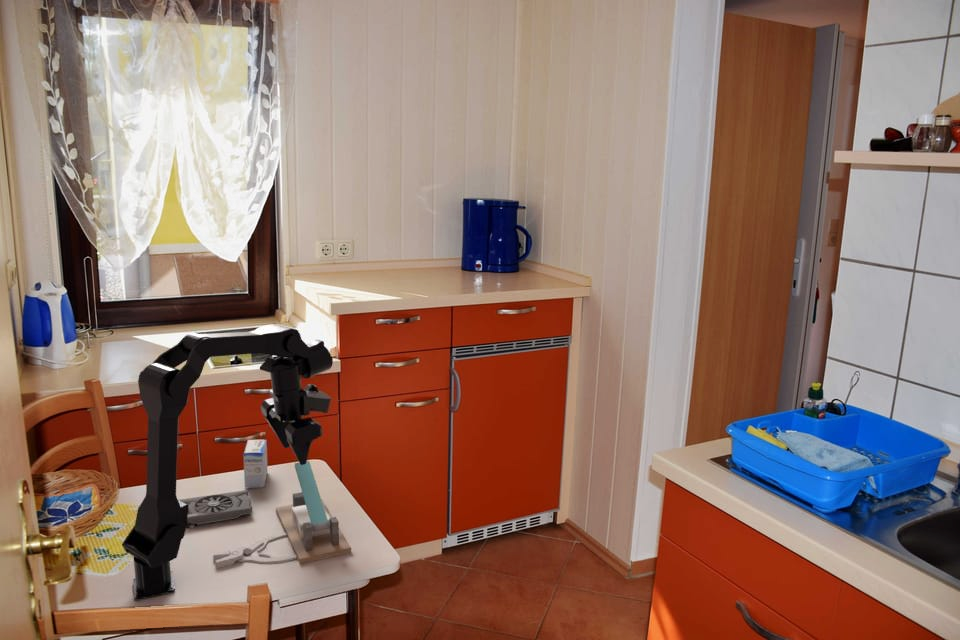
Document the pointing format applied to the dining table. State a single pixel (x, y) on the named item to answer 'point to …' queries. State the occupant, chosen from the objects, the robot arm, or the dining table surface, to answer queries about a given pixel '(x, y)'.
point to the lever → (312, 497)
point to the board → (311, 534)
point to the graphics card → (217, 507)
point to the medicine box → (255, 463)
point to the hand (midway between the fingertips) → (294, 455)
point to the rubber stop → (298, 499)
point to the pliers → (237, 555)
